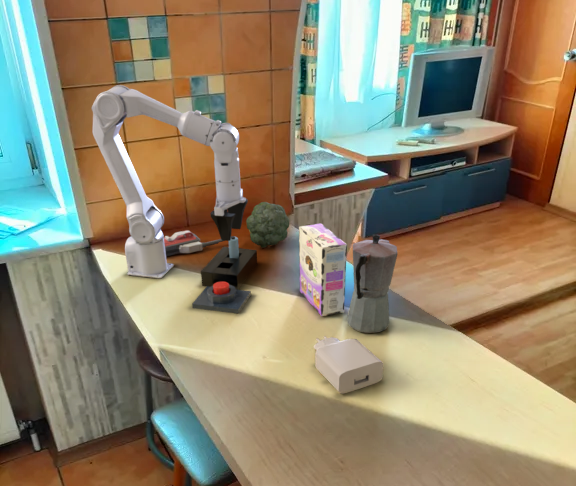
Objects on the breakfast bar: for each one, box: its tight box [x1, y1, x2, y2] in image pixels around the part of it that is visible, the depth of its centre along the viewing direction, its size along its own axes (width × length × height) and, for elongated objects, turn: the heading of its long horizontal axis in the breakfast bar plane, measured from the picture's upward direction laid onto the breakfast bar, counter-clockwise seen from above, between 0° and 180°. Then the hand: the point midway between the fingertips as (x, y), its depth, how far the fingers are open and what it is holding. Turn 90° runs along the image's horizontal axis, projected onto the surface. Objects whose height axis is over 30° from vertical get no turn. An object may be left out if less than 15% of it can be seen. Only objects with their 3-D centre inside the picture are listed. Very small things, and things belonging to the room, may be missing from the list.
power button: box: [213, 282, 229, 295], centre depth 134 cm, size 4×4×2 cm
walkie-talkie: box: [164, 229, 226, 257], centre depth 162 cm, size 9×4×20 cm
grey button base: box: [191, 285, 252, 314], centre depth 135 cm, size 11×9×3 cm
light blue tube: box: [228, 235, 239, 259], centre depth 148 cm, size 2×2×9 cm
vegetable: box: [245, 201, 290, 249], centre depth 164 cm, size 12×13×15 cm
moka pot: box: [346, 234, 399, 334], centre depth 121 cm, size 10×15×20 cm, turn 155°
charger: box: [313, 335, 384, 394], centre depth 111 cm, size 5×9×15 cm
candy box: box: [298, 223, 348, 317], centre depth 131 cm, size 14×6×16 cm, turn 20°
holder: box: [200, 246, 258, 290], centre depth 147 cm, size 9×15×4 cm, turn 165°
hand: (231, 234), depth 144 cm, fingers open, 7 cm apart
